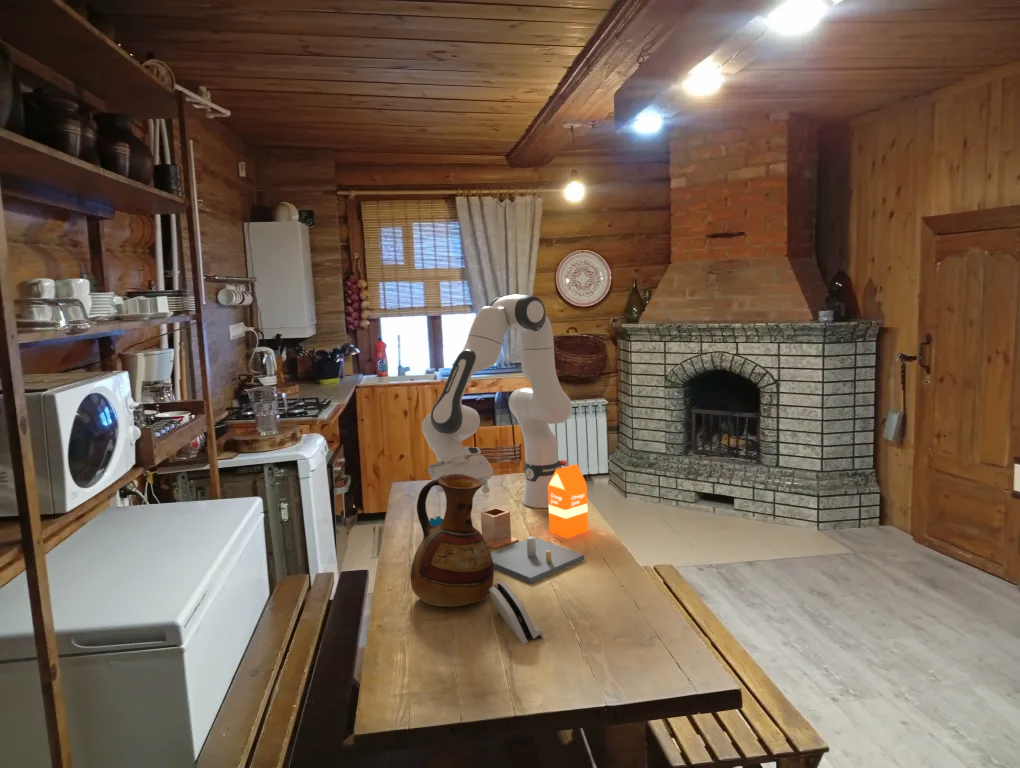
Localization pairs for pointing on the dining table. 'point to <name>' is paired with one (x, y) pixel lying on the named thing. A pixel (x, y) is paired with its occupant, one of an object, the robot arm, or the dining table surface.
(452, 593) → the ceramic pitcher
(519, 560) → the base plate
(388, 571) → the dining table surface
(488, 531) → the copper sleeve
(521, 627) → the half-moon napkin holder
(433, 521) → the gear
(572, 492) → the orange juice
